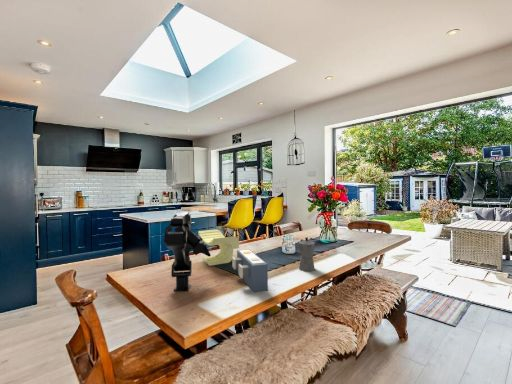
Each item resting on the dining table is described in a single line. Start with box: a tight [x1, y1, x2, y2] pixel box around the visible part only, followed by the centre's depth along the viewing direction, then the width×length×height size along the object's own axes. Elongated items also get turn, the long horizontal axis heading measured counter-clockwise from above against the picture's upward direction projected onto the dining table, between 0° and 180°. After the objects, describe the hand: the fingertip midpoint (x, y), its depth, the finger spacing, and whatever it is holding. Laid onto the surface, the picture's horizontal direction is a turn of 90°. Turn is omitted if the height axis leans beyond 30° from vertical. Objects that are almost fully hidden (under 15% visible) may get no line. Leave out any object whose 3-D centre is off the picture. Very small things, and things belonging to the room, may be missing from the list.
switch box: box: [236, 249, 269, 293], centre depth 135 cm, size 7×30×12 cm, turn 18°
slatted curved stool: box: [197, 229, 240, 267], centre depth 170 cm, size 30×16×18 cm, turn 29°
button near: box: [238, 264, 250, 279], centre depth 127 cm, size 6×5×5 cm
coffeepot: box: [298, 236, 316, 272], centre depth 153 cm, size 15×9×18 cm, turn 12°
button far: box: [231, 256, 242, 270], centre depth 141 cm, size 6×5×5 cm
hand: (209, 255), depth 136 cm, fingers closed
